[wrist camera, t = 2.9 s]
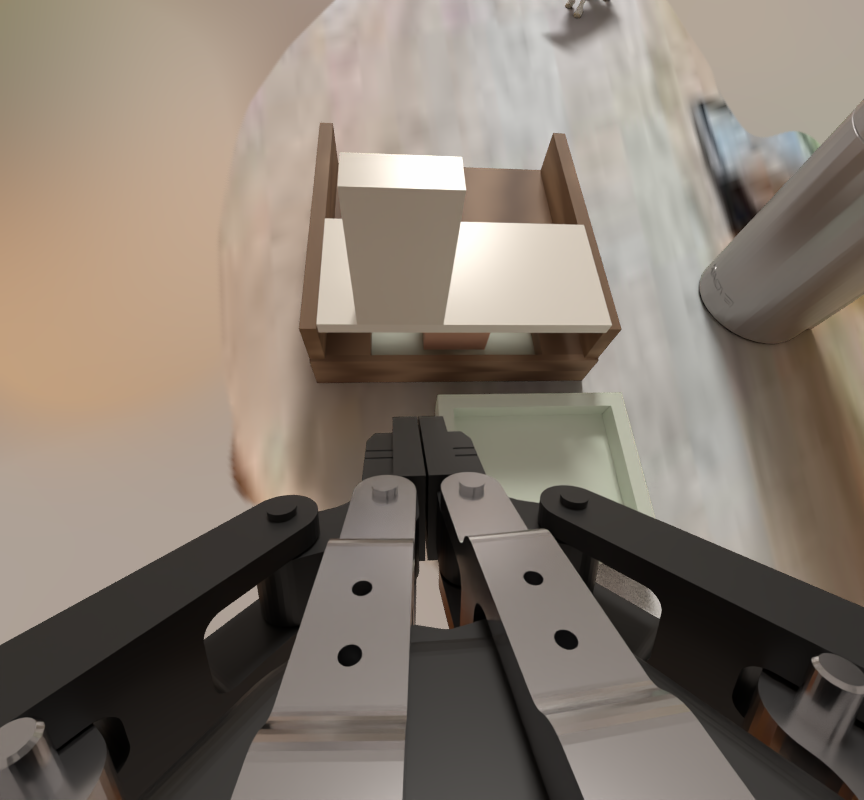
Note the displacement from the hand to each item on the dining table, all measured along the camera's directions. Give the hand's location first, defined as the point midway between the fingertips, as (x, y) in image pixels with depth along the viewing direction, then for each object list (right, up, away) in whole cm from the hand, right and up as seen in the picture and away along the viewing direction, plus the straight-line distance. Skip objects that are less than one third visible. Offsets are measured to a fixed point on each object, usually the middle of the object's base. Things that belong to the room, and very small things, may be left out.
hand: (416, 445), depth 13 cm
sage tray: (+7, -4, +16) cm, 18 cm away
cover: (+2, +9, +15) cm, 18 cm away
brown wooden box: (+2, +12, +23) cm, 26 cm away
